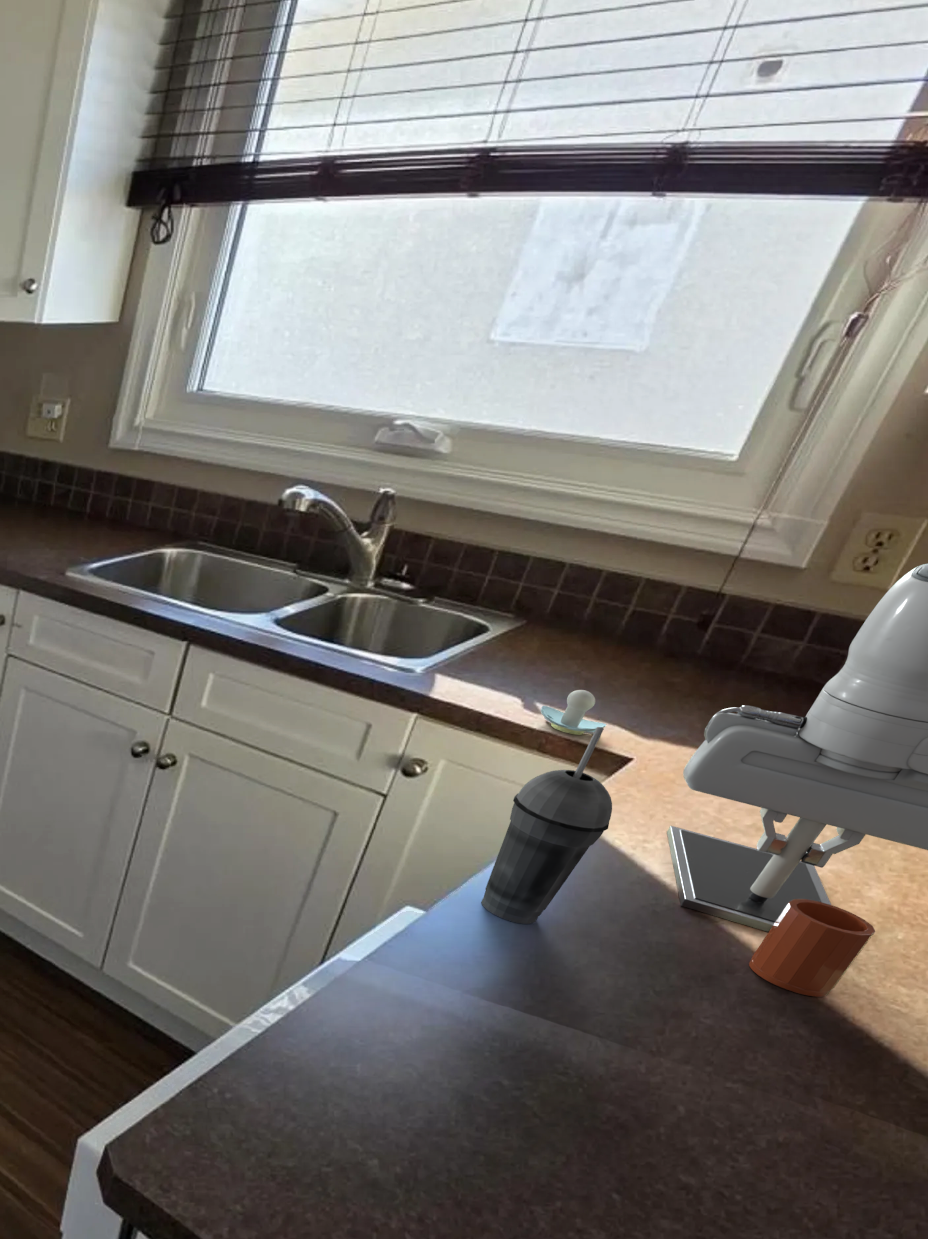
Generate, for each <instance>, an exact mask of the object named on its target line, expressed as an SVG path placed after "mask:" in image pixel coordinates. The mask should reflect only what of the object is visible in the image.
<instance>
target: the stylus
mask: <svg viewBox="0 0 928 1239" xmlns="http://www.w3.org/2000/svg"><path fill="white" fill-rule="evenodd" d="M826 826H827V824H823V823H819V822H815V821H811V820H808V819H804V818H800V817H798V820H797V821H796V823H795V824H794V826H792V829H790V831H789V833H788V834H787V835H786V836H785V837H786V838H785V839H787V844H786V845H785V847H784V848H782V849H781V853H780V854H779V855H773V857H772V858H771V859H770V861H769V862H768V864H767V865H766V866H765V868H764V869H763V871H762V872H761V874H760V875H759V876H758V878H757V879H756V881H755V882H754V883H753V885H752V886H751V888H750V890H751V891H752V893H751V895H750V898H751V899H753V900H755V901H758V902H765V901H766V900H767V899H768V898H773V897H774V896H775V895H776V893H777V892H778V891H779V889H780V888H781V886H782V885H783V884H784V882H785V881H786V880H787V878H788V877H789V875H790V874H791V873H792V871H793V870H794V869H795V867H796V866H797V864H798V863H799V862H800V861H801V859H802V858H803V856H804V855H805V853H806V852H807V851H808V849H809V848H810V847H811V845H812V844H813V843H815V841H816V840H817V839H818V837H819V836H820V835H821V833H822V832H823V830H824V829H825V828H826Z"/></svg>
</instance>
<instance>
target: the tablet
mask: <svg viewBox="0 0 928 1239" xmlns="http://www.w3.org/2000/svg"><path fill="white" fill-rule="evenodd" d="M666 835H667V841H668V845H669V851H670V857H671V861H672V867H673V873H674V877H675V882H676V888H677V893H678V898H679V903H680V906H681V907H684V908H687V909H690V910H694V911H697V912H701V913H704V914H707V915H710V916H714V917H717V918H720V919H723V920H727V921H731V922H733V923H737V924H741V925H744V926H746V927H750V928H753V929H756V930H760V931H763V932H765V933H766V932H767V933H768V932H769V931H770V929H771V928H772V927H773V925H774V924H775V922H776V921H777V919H778V918H779V916H780V915H781V913H782V912H783V910H784V909H785V907H786V906H787V904H788V903H789V902H790V901H792V900H793V899H807V900H813V901H818V902H822V903H826V904H829V905H832V903H831V901H830V899H829V897H828V894H827V892H826V889H825V887H824V884H823V882H822V880H821V878H820V876H819V874H818V871H817V869H816V866H813V865H810V864H806V863H803V862H801V860H800V862H799V863H798V864H797V866H796V867H795V869H794V870H793V871H792V873H791V874H790V875H789V877H788V878H787V880H786V881H785V882H784V884H783V885H782V886H781V888H780V889H779V891H778V892H777V893H776V895H775V896H774V897H773V898H768V899H767V900H766V901H765V902H758V901H755V900H753V899H751V898H750V895H751V893H752V891H751V890H750V888H751V886H752V885H753V883H754V882H755V881H756V879H757V878H758V876H759V875H760V874H761V872H762V871H763V869H764V868H765V866H766V865H767V864H768V862H769V861H770V859H771V858H772V857H773V855H774V854H770V853H767V852H762V851H759V850H757V847H752V846H748V845H744V844H741V843H737V842H734V841H730V840H727V839H726V840H725V839H722V838H718V837H714V836H711V835H708V834H703V833H700V832H697V831H693V830H688V829H685V828H681V827H677V826H674V825H669V827H668V829H667V830H666Z"/></svg>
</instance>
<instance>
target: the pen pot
mask: <svg viewBox="0 0 928 1239" xmlns="http://www.w3.org/2000/svg"><path fill="white" fill-rule="evenodd" d="M875 933H876V930H875V928H874V925H872V924H871V923H870V922H868V921H867V920H866V919H864V918H862V917H860V916H859V915H856V914H854V913H853V912H851V911H848V910H846V909H843V908H841V907H838V906H835V905H833V904H831V905H829V904H826V903H822V902H818V901H813V900H807V899H793V900H792V901H790V902H789V903H788V904H787V906H786V907H785V909H784V910H783V912H782V913H781V915H780V916H779V918H778V919H777V921H776V922H775V924H774V925H773V927H772V928H771V929H770V931H769V932H767V934H766V935H765V937H764V938H763V940H762V941H761V943H760V944H759V946H758V947H757V948H756V950H755V951H754V953H753V955H752V956H751V959H750V960H749V961H748V966H749V968H750V969H751V970H752V972H754V973H755V974H756V975H757V976H758V977H760V978H762V979H763V980H765V981H767V982H769V983H770V984H772V985H774V986H777V987H779V988H781V989H783V990H787V991H789V992H792V993H795V994H799V995H802V996H803V995H804V996H808V997H817V998H820V997H821V998H823V997H827V996H829V995H830V993H831V992H832V990H833V989H835V987H836V986H837V985H838V983H839V982H840V981H841V979H842V978H843V977H844V975H845V974H846V972H847V971H848V970H849V969H850V967H851V966H852V965H853V963H854V962H855V960H856V959H857V957H858V956H859V955H860V953H861V952H862V950H864V948H865V946H866V945H867V944H868V942H869V941H870V940H871V938H872V937H873V936H874V934H875Z"/></svg>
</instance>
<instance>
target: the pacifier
mask: <svg viewBox="0 0 928 1239" xmlns="http://www.w3.org/2000/svg"><path fill="white" fill-rule="evenodd" d="M566 704H567V707H566V708H565V710H564V712H563V711H561V710H560V709H556V708H554V707H551V706H548V705H542V706H541V708H540V713H541V715H542V716H543V719H544V720H545V721H546V722H548V723H550V726H551V727H552V728H553V729H555V730H557V731H560V732H563V733H567V734H570V735H577V736H581V735H584V734H585V735H586V734H587V735H593V734H594V732H595V730H596V728H597V727H602V728H604V729H605V728H606V727H607V723H604V722H601V721H594V720H589V719H584V718H585V715H586V714H587V711H589V710H591V709H592V708H593V707H594V706H595V704H596V698H595V696H594V694H593V693H592V692H590V691H588V690H584V689H576V690H574V691H572V692H570V693H569V694H568V696H567V698H566Z"/></svg>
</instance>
